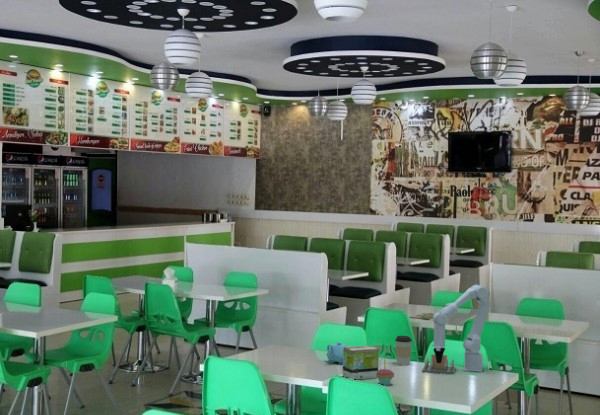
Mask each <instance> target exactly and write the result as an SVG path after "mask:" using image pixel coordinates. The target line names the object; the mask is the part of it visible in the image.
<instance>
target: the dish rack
mask: <svg viewBox="0 0 600 415" xmlns="http://www.w3.org/2000/svg"><path fill="white" fill-rule="evenodd" d="M429 361H430V360H429V357H426V359H425V360H424V365H423V368H422V370H421V372H422V373H425V372H427V374H428V373H429V374H440V373H442V375H455V372H456V369H457V367H456V366H455V359H451V362H450V364H449V359H448V358H447V362H445V363H444V369H433V361H431V362H429ZM429 363H430V364H429ZM449 365H450V366H449Z"/></svg>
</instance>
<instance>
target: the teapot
mask: <svg viewBox="0 0 600 415" xmlns="http://www.w3.org/2000/svg"><path fill="white" fill-rule="evenodd" d="M344 347H349V346H348V344H347V343H344V344H343V343H342V342H341V341H338V342H336V343H333V344H332V343H331V344H328V345H327V346H326V350H327V353H326V357H327V360H328V361H329V362H331V363H330V364H334V363H336V362H337V363H338V365H343V348H344Z"/></svg>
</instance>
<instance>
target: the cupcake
mask: <svg viewBox="0 0 600 415" xmlns="http://www.w3.org/2000/svg"><path fill="white" fill-rule="evenodd" d="M386 364H387V363H386V359H384V360H383V368H382V369H381V368H380V369H378V372H377V374H376V376H377V377H378V378H377V379H378V382H379V385H381V384H383V385H382V386H390V385H391V382H392V379H393V378H394V377H395V373H394V372H393V370H391V369H387V366H386Z"/></svg>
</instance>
